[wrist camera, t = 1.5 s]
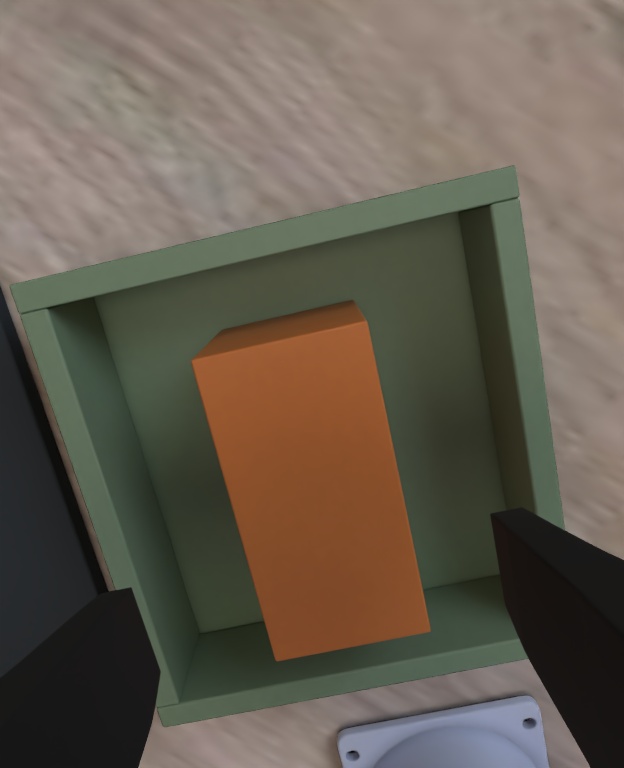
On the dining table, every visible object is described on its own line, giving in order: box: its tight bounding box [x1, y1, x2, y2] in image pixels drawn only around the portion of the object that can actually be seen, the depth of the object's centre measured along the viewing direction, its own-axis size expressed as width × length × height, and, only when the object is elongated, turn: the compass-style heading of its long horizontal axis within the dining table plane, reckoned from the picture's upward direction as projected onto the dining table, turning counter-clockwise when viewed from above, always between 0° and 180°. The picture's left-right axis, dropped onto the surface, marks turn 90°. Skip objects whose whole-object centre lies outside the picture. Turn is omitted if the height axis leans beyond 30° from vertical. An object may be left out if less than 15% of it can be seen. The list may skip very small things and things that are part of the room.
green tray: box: [10, 166, 565, 727], centre depth 19 cm, size 15×14×4 cm
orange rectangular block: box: [191, 300, 431, 661], centre depth 18 cm, size 9×4×5 cm, turn 13°
